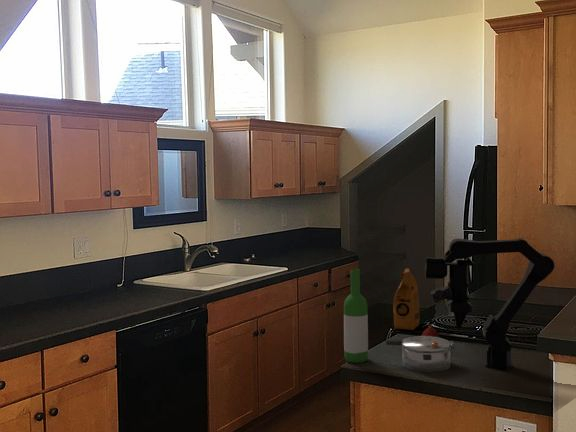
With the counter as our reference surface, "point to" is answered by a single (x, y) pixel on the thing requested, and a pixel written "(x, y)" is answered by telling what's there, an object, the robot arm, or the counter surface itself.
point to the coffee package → (406, 303)
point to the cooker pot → (426, 360)
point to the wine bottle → (355, 323)
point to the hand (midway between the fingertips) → (458, 328)
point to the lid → (423, 344)
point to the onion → (430, 332)
